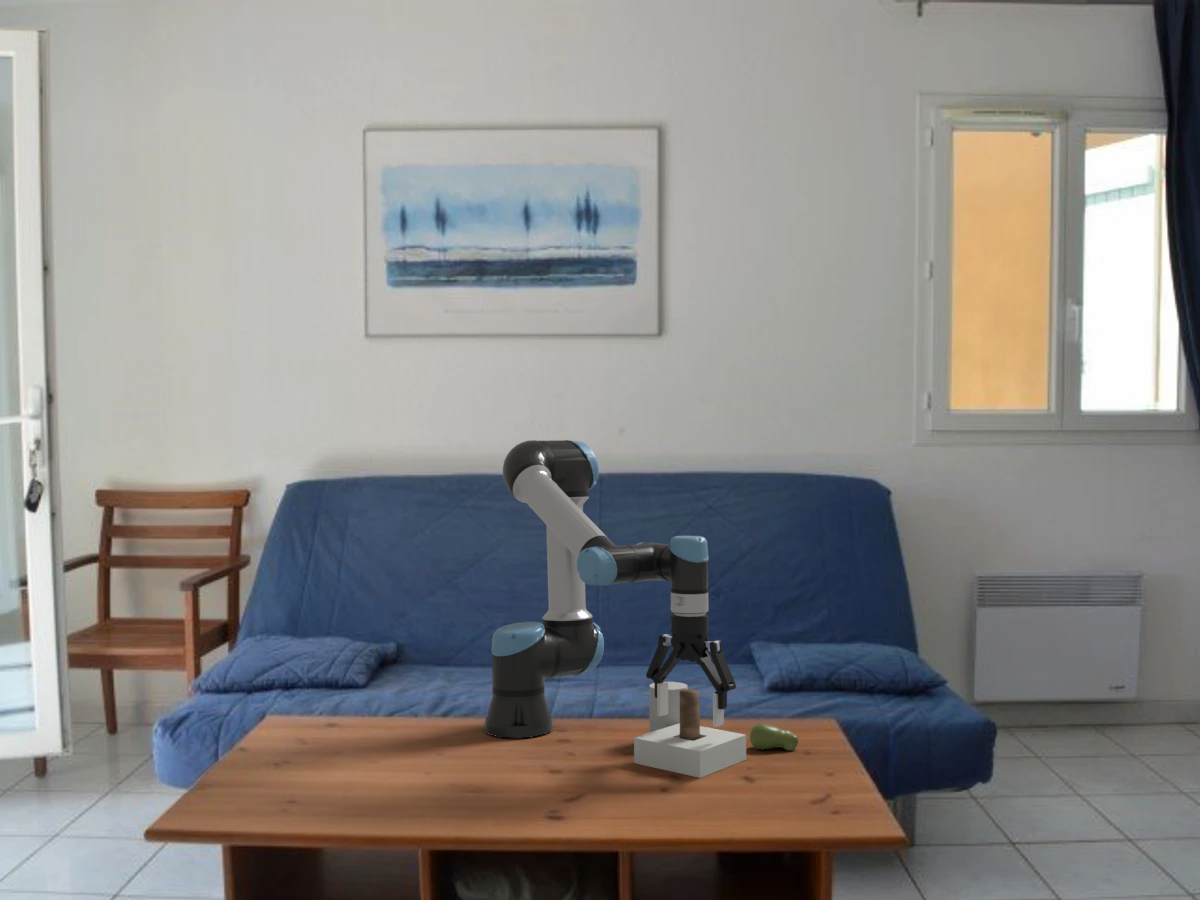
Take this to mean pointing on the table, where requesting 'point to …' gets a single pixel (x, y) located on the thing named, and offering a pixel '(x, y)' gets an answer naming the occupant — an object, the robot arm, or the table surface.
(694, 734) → the walnut dowel
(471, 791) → the table surface
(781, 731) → the pear
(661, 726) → the grey cylinder peg
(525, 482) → the robot arm
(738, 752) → the socket block
